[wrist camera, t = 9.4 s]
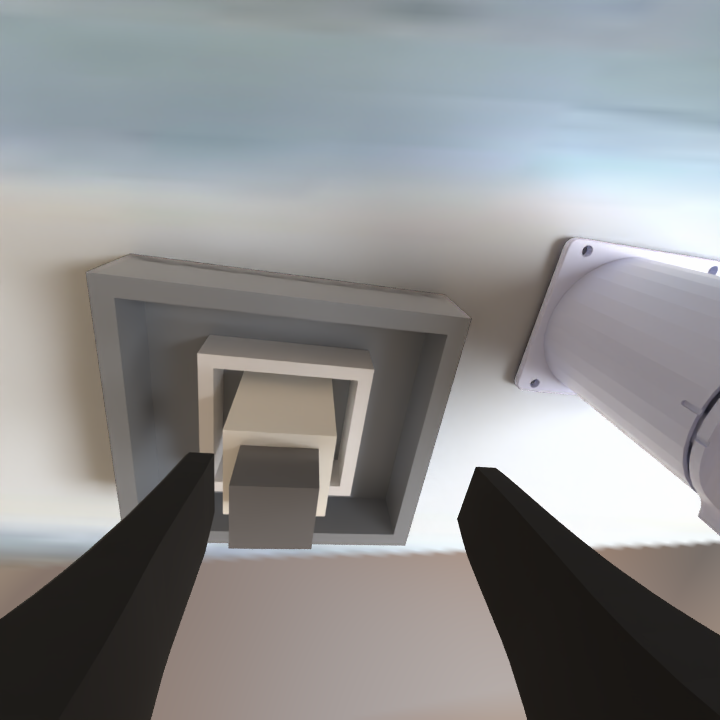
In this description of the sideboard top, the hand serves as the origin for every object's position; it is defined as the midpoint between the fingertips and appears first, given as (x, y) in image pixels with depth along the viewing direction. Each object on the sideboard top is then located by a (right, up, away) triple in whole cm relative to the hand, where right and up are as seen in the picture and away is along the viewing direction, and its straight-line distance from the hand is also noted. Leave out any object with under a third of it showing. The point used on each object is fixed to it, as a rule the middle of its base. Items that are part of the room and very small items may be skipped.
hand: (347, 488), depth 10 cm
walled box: (-3, +2, +9) cm, 10 cm away
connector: (-3, +1, +8) cm, 9 cm away
